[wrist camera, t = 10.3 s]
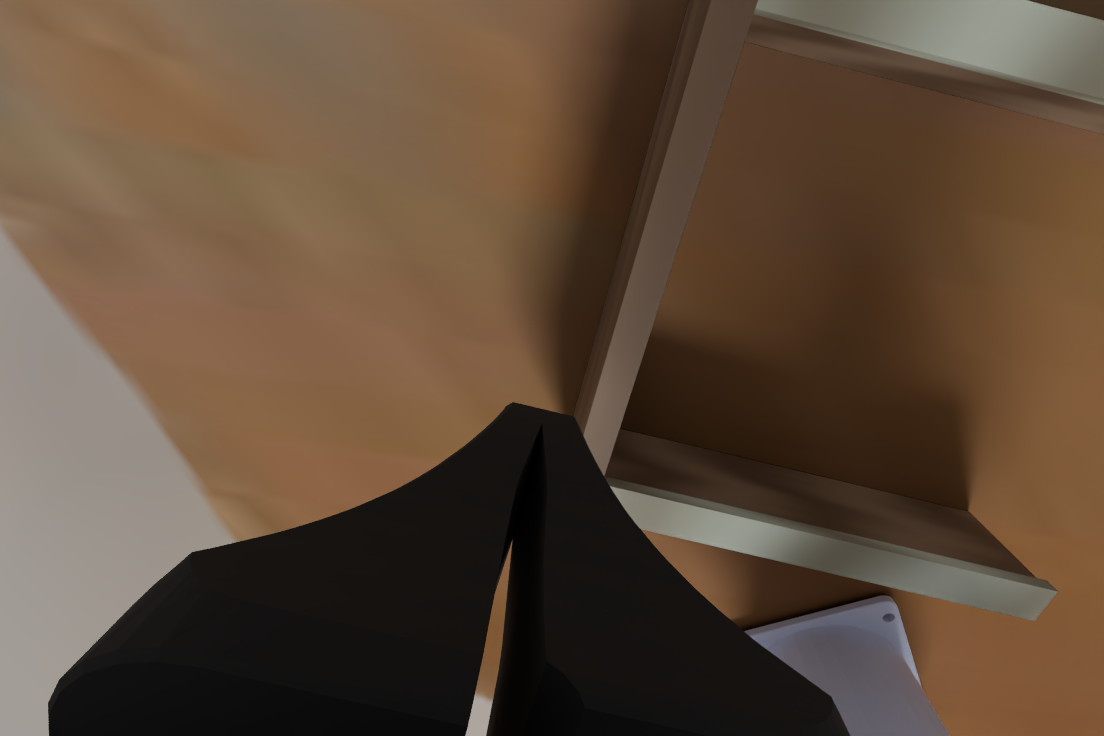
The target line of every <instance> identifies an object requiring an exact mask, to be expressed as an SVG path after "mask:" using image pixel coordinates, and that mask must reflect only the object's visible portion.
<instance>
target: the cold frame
mask: <svg viewBox="0 0 1104 736" xmlns="http://www.w3.org/2000/svg"><path fill="white" fill-rule="evenodd" d="M744 42H748V43H752V44H756V45H760V46H763V47H767V48H771V49H775V50H779V51H783V52H787V53H791V54H794V55H798V56H802V57H806V58H810V59H814V60H818V61H822V62H825V63H829V64H833V65H837V66H841V67H845V68H849V69H853V70H856V71H860V72H864V73H868V74H872V75H876V76H880V77H884V78H887V79H891V80H895V81H899V82H903V83H907V84H911V85H915V86H918V87H922V88H926V89H930V90H934V91H938V92H942V93H946V94H949V95H953V96H957V97H961V98H965V99H969V100H973V101H977V102H980V103H984V104H988V105H992V106H996V107H1000V108H1004V109H1008V110H1011V111H1015V112H1019V113H1023V114H1027V115H1031V116H1035V117H1039V118H1042V119H1046V120H1050V121H1054V122H1058V123H1062V124H1066V125H1070V126H1074V127H1077V128H1081V129H1085V130H1089V131H1093V132H1097V133H1101V134H1104V20H1100V19H1096V18H1092V17H1088V16H1085V15H1081V14H1077V13H1073V12H1070V11H1066V10H1062V9H1058V8H1054V7H1051V6H1047V5H1043V4H1039V3H1035V2H1032V1H1028V0H689V3H688V7H687V10H686V14H685V17H684V21H683V24H682V28H681V32H680V35H679V39H678V42H677V46H676V49H675V53H674V57H673V60H672V64H671V67H670V71H669V74H668V78H667V82H666V85H665V89H664V92H663V96H662V99H661V103H660V107H659V110H658V114H657V117H656V121H655V124H654V128H653V132H652V135H651V139H650V142H649V146H648V150H647V153H646V157H645V160H644V164H643V167H642V171H641V175H640V178H639V182H638V185H637V189H636V192H635V196H634V200H633V203H632V207H631V210H630V214H629V217H628V221H627V225H626V228H625V232H624V235H623V239H622V242H621V246H620V250H619V253H618V257H617V260H616V264H615V268H614V271H613V275H612V278H611V282H610V285H609V289H608V293H607V296H606V300H605V303H604V307H603V310H602V314H601V318H600V321H599V325H598V328H597V332H596V335H595V339H594V343H593V346H592V350H591V353H590V357H589V360H588V364H587V368H586V371H585V375H584V378H583V382H582V385H581V389H580V393H579V396H578V400H577V403H576V407H575V411H574V414H573V417H575V419H576V421H577V422H578V424H579V427H580V429H581V431H582V434H583V436H584V438H585V440H586V442H587V444H588V447H589V449H590V451H591V453H592V455H593V457H594V459H595V461H596V462H597V464H598V466H599V468H600V470H601V471H602V473H603V475H604V477H605V479H606V480H607V482H608V484H609V485H610V487H611V489H612V490H613V492H614V494H615V495H616V497H617V498H618V500H619V501H620V503H621V504H622V506H623V507H624V509H625V510H626V511H627V513H628V514H629V515H630V517H631V518H632V519H633V521H634V522H635V523H636V524H637V526H638V527H639V528H640V529H643V530H647V531H651V532H655V533H660V534H664V535H668V536H673V537H677V538H681V539H685V540H690V541H694V542H698V543H703V544H707V545H711V546H715V547H720V548H724V549H728V550H733V551H737V552H741V553H745V554H750V555H754V556H758V557H763V558H767V559H771V560H775V561H780V562H784V563H788V564H793V565H797V566H801V567H805V568H810V569H814V570H818V571H823V572H827V573H831V574H835V575H840V576H844V577H848V578H853V579H857V580H861V581H865V582H870V583H874V584H878V585H883V586H887V587H891V588H895V589H900V590H904V591H908V592H913V593H917V594H921V595H925V596H930V597H934V598H938V599H942V600H947V601H951V602H955V603H960V604H964V605H968V606H972V607H977V608H981V609H985V610H990V611H994V612H998V613H1002V614H1007V615H1011V616H1015V617H1020V618H1024V619H1028V620H1032V621H1035V620H1036V618H1037V617H1038V616H1039V615H1040V613H1041V612H1042V611H1043V610H1044V609H1045V607H1046V606H1047V605H1048V604H1049V602H1050V601H1051V600H1052V599H1053V598H1054V596H1055V595H1056V594H1057V593H1058V591H1057V590H1056V589H1055V588H1054V587H1053V586H1052V585H1051V584H1050V583H1049V582H1048V581H1047V580H1042V579H1038V578H1036V577H1035V576H1034V575H1033V574H1032V573H1031V572H1030V571H1029V570H1028V569H1027V568H1026V567H1025V566H1024V565H1023V564H1022V563H1021V562H1020V561H1019V560H1018V559H1017V558H1016V557H1015V556H1014V555H1013V554H1012V553H1011V552H1010V551H1009V550H1008V549H1007V548H1006V547H1005V546H1003V545H1002V544H1001V543H1000V542H999V541H998V540H997V539H996V538H995V537H994V536H993V535H992V534H991V533H990V532H989V531H988V530H987V529H986V528H985V527H984V526H983V525H982V524H981V523H980V522H979V521H978V520H977V519H976V518H975V517H974V516H973V515H972V514H971V513H970V512H968V511H964V510H960V509H956V508H951V507H947V506H943V505H939V504H934V503H930V502H926V501H922V500H918V499H913V498H909V497H905V496H901V495H897V494H892V493H888V492H884V491H880V490H876V489H871V488H867V487H863V486H859V485H855V484H850V483H846V482H842V481H838V480H834V479H829V478H825V477H821V476H817V475H813V474H808V473H804V472H800V471H796V470H792V469H787V468H783V467H779V466H775V465H771V464H766V463H762V462H758V461H754V460H750V459H745V458H741V457H737V456H733V455H729V454H724V453H720V452H716V451H712V450H708V449H703V448H699V447H695V446H691V445H687V444H682V443H678V442H674V441H670V440H666V439H661V438H657V437H653V436H649V435H645V434H640V433H636V432H632V431H628V430H624V429H620V426H621V423H622V420H623V417H624V414H625V410H626V407H627V404H628V401H629V398H630V395H631V392H632V389H633V386H634V383H635V380H636V376H637V373H638V370H639V367H640V364H641V361H642V358H643V355H644V352H645V349H646V345H647V342H648V339H649V336H650V333H651V330H652V327H653V324H654V321H655V318H656V315H657V311H658V308H659V305H660V302H661V299H662V296H663V293H664V290H665V287H666V284H667V281H668V277H669V274H670V271H671V268H672V265H673V262H674V259H675V256H676V253H677V250H678V246H679V243H680V240H681V237H682V234H683V231H684V228H685V225H686V222H687V219H688V216H689V212H690V209H691V206H692V203H693V200H694V197H695V194H696V191H697V188H698V185H699V182H700V178H701V175H702V172H703V169H704V166H705V163H706V160H707V157H708V154H709V151H710V147H711V144H712V141H713V138H714V135H715V132H716V129H717V126H718V123H719V120H720V117H721V113H722V110H723V107H724V104H725V101H726V98H727V95H728V92H729V89H730V86H731V83H732V79H733V76H734V73H735V70H736V67H737V64H738V61H739V58H740V55H741V52H742V48H743V45H744Z"/></svg>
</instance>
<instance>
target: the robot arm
mask: <svg viewBox="0 0 1104 736" xmlns="http://www.w3.org/2000/svg"><path fill="white" fill-rule="evenodd" d="M512 539H513V541H512ZM511 542H512V551H511V561H510V571H509V581H508V591H507V602H506V612H505V622H504V633H503V643H502V651H501V658H500V665H499V672H498V677H497V682H496V688H495V693H494V698H493V703H492V708H491V714H490V719H489V725H488V730H487V735H486V736H950V734H949V733H948V731H947V729H946V728H945V726H944V724H943V723H942V721H941V719H940V718H939V716H938V714H937V713H936V711H935V709H934V708H933V706H932V704H931V703H930V701H929V699H928V698H927V696H926V694H925V693H924V691H923V689H922V686H921V682H920V679H919V676H918V673H917V669H916V666H915V663H914V659H913V656H912V653H911V649H910V646H909V643H908V639H907V636H906V633H905V630H904V626H903V623H902V620H901V616H900V613H899V610H898V606H897V605H896V603H895V602H894V600H893V599H892V598H891V597H889V596H885V595H883V596H877V597H873V598H869V599H866V600H862V601H858V602H854V603H850V604H846V605H843V606H839V607H835V608H831V609H827V610H823V611H819V612H816V613H812V614H808V615H804V616H800V617H796V618H792V619H789V620H785V621H781V622H777V623H773V624H769V625H766V626H762V627H758V628H754V629H750V630H746V631H743V630H742V629H741V628H739V627H738V626H737V625H736V624H735V623H733V622H732V621H731V620H730V619H729V618H728V617H726V616H725V615H724V614H723V613H722V612H720V611H719V610H718V609H717V608H716V607H715V606H714V605H713V604H711V603H710V602H709V601H708V600H707V599H706V598H705V597H704V596H703V595H702V594H700V593H699V592H698V591H697V590H696V589H695V588H694V587H693V586H692V585H691V584H690V583H689V582H688V581H687V580H686V579H685V578H684V577H683V576H682V575H681V574H680V573H679V572H678V571H677V570H676V569H675V568H674V567H673V566H672V565H671V564H670V563H669V562H668V561H667V560H666V558H665V557H664V556H663V555H662V554H661V553H660V552H659V551H658V550H657V549H656V547H655V546H654V545H653V544H652V543H651V541H650V540H649V539H648V538H647V537H646V535H645V534H644V533H643V532H642V531H641V529H640V528H639V527H638V526H637V524H636V523H635V522H634V521H633V519H632V518H631V517H630V515H629V514H628V513H627V511H626V510H625V509H624V507H623V506H622V504H621V503H620V501H619V500H618V498H617V497H616V495H615V494H614V492H613V490H612V489H611V487H610V485H609V484H608V482H607V480H606V479H605V477H604V475H603V473H602V471H601V470H600V468H599V466H598V464H597V462H596V461H595V459H594V457H593V455H592V453H591V451H590V449H589V447H588V444H587V442H586V440H585V438H584V436H583V434H582V431H581V429H580V427H579V424H578V422H577V421H576V419H575V417H573V416H569V415H565V414H560V413H556V412H552V411H548V410H544V409H539V408H535V407H531V406H527V405H523V404H518V403H514V402H513V403H511V404H509V405H507V406H506V407H505V409H504V410H503V411H502V412H501V413H500V414H499V416H498V417H497V418H496V419H495V420H494V421H493V422H492V423H490V424H489V425H488V426H487V427H486V428H485V429H484V430H483V431H482V432H481V433H479V434H478V435H477V436H476V437H475V438H473V439H472V440H471V441H470V442H469V443H468V444H466V445H465V446H464V447H462V448H461V449H460V450H458V451H457V452H455V453H454V454H453V455H451V456H450V457H448V458H447V459H446V460H444V461H443V462H441V463H440V464H439V465H437V466H436V467H434V468H432V469H431V470H429V471H428V472H426V473H424V474H423V475H421V476H419V477H418V478H416V479H414V480H412V481H411V482H409V483H407V484H405V485H403V486H402V487H400V488H398V489H396V490H394V491H392V492H389V493H387V494H385V495H383V496H380V497H378V498H376V499H373V500H371V501H369V502H366V503H364V504H362V505H360V506H357V507H355V508H352V509H350V510H347V511H344V512H341V513H339V514H336V515H333V516H330V517H327V518H324V519H321V520H318V521H315V522H312V523H308V524H305V525H302V526H299V527H296V528H292V529H289V530H285V531H281V532H278V533H274V534H270V535H266V536H262V537H257V538H253V539H249V540H245V541H240V542H236V543H232V544H228V545H224V546H219V547H215V548H210V549H205V550H200V551H196V552H192V553H191V554H189V555H188V556H187V557H186V558H185V559H184V560H183V561H182V562H180V563H179V564H178V565H177V566H176V567H175V568H173V569H172V570H171V571H170V572H169V573H168V574H166V575H165V576H164V577H163V578H162V579H160V580H159V581H158V582H157V583H156V584H154V585H153V586H152V587H151V588H150V589H149V590H148V591H147V592H146V593H145V594H144V595H143V596H142V597H141V598H140V599H139V600H138V601H137V602H136V603H135V604H134V605H132V607H130V609H129V610H128V611H127V612H126V613H125V614H124V615H123V616H122V617H121V618H120V619H119V620H118V621H117V622H116V623H115V624H114V625H113V626H112V627H111V628H110V629H109V630H108V631H107V632H106V633H105V634H104V635H103V636H102V637H101V638H100V639H99V640H98V641H97V642H96V643H95V644H94V645H93V646H92V647H91V648H90V649H89V650H88V651H87V652H86V653H85V654H84V655H83V656H82V657H81V658H80V659H79V660H78V661H77V662H76V663H75V664H74V665H73V666H72V667H71V668H70V669H69V670H68V671H67V672H66V674H64V676H62V677H61V678H60V680H59V682H58V684H57V686H56V688H55V690H54V692H53V694H52V696H51V698H50V700H49V702H48V714H49V736H465V734H466V731H467V727H468V722H469V718H470V713H471V709H472V704H473V700H474V695H475V690H476V686H477V681H478V676H479V672H480V667H481V662H482V658H483V653H484V647H485V642H486V636H487V631H488V625H489V620H490V615H491V610H492V604H493V599H494V594H495V591H496V588H497V585H498V582H499V579H500V576H501V573H502V570H503V567H504V564H505V561H506V557H507V554H508V551H509V548H510V545H511ZM885 614H886V615H885Z"/></svg>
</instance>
